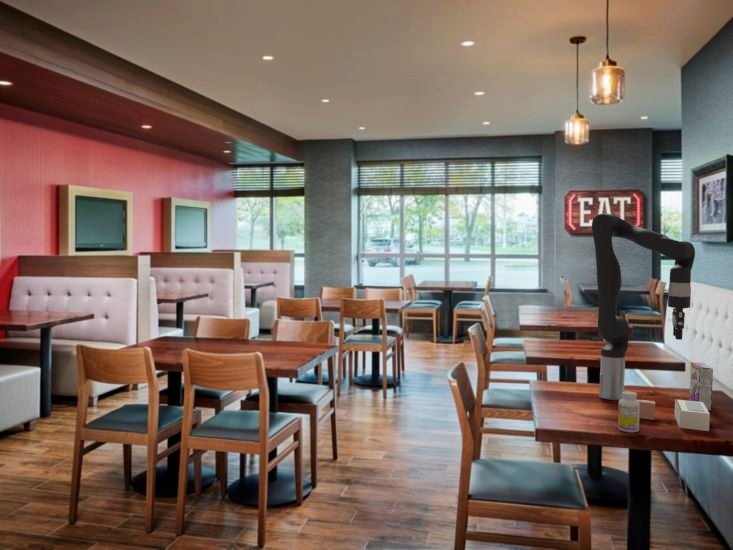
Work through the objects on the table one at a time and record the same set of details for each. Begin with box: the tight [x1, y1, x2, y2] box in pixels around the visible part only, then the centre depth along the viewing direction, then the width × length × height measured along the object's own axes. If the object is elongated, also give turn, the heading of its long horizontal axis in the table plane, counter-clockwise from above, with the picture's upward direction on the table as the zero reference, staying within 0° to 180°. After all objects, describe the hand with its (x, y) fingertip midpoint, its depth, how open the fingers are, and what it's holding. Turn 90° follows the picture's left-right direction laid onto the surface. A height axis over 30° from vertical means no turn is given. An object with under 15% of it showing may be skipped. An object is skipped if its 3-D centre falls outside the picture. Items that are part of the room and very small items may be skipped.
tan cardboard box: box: [636, 398, 656, 421], centre depth 221 cm, size 8×4×6 cm, turn 68°
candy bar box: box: [688, 361, 714, 411], centre depth 237 cm, size 11×5×16 cm, turn 168°
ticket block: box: [674, 399, 711, 432], centre depth 215 cm, size 9×16×6 cm, turn 159°
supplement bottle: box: [617, 390, 640, 433], centre depth 206 cm, size 7×7×13 cm
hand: (677, 337), depth 228 cm, fingers open, 8 cm apart
